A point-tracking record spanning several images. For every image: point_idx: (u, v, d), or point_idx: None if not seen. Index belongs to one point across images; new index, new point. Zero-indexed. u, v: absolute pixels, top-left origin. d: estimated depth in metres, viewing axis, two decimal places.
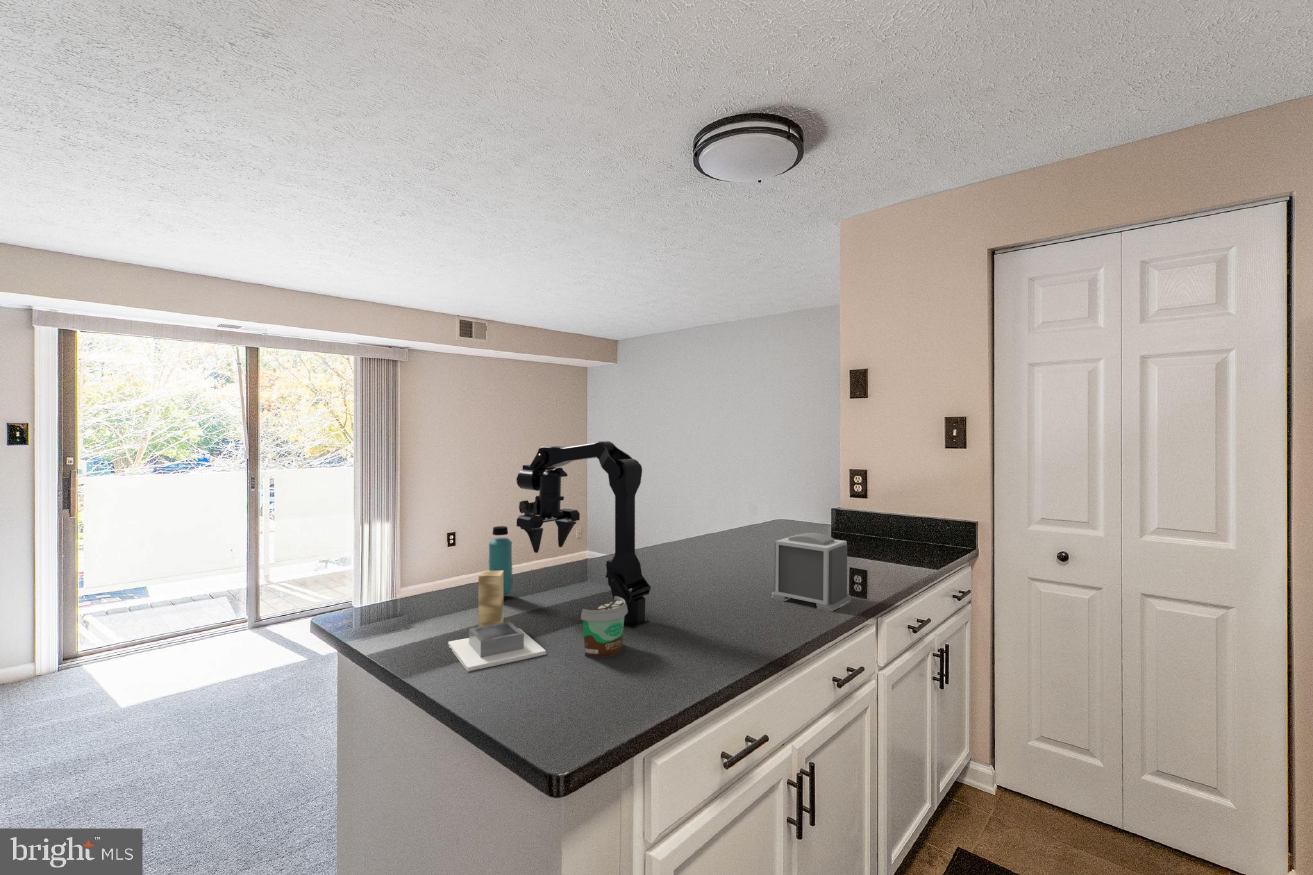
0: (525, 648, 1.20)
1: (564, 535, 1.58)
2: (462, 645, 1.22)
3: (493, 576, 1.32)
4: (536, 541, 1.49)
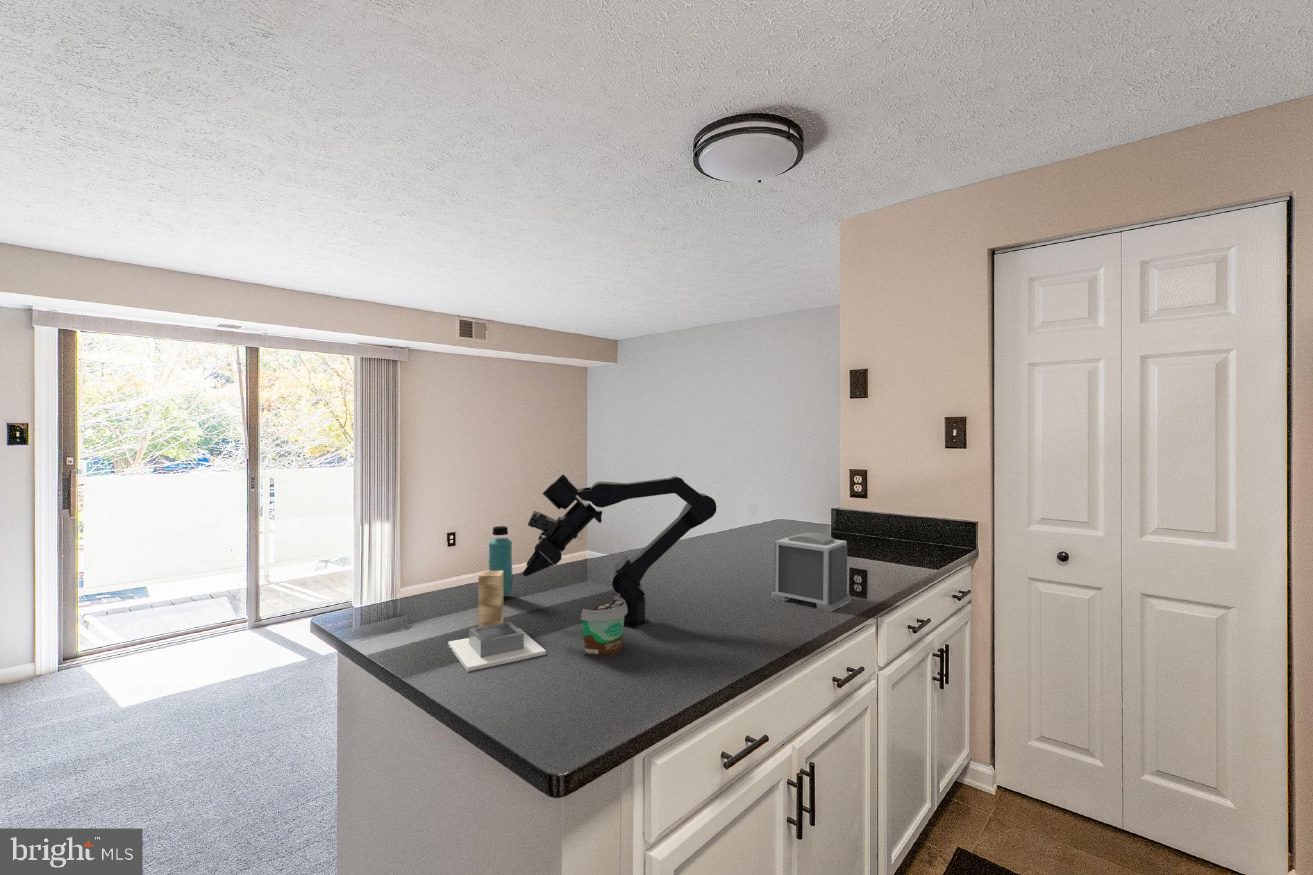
0: (525, 648, 1.20)
1: None
2: (462, 645, 1.22)
3: (493, 576, 1.32)
4: (537, 569, 1.31)
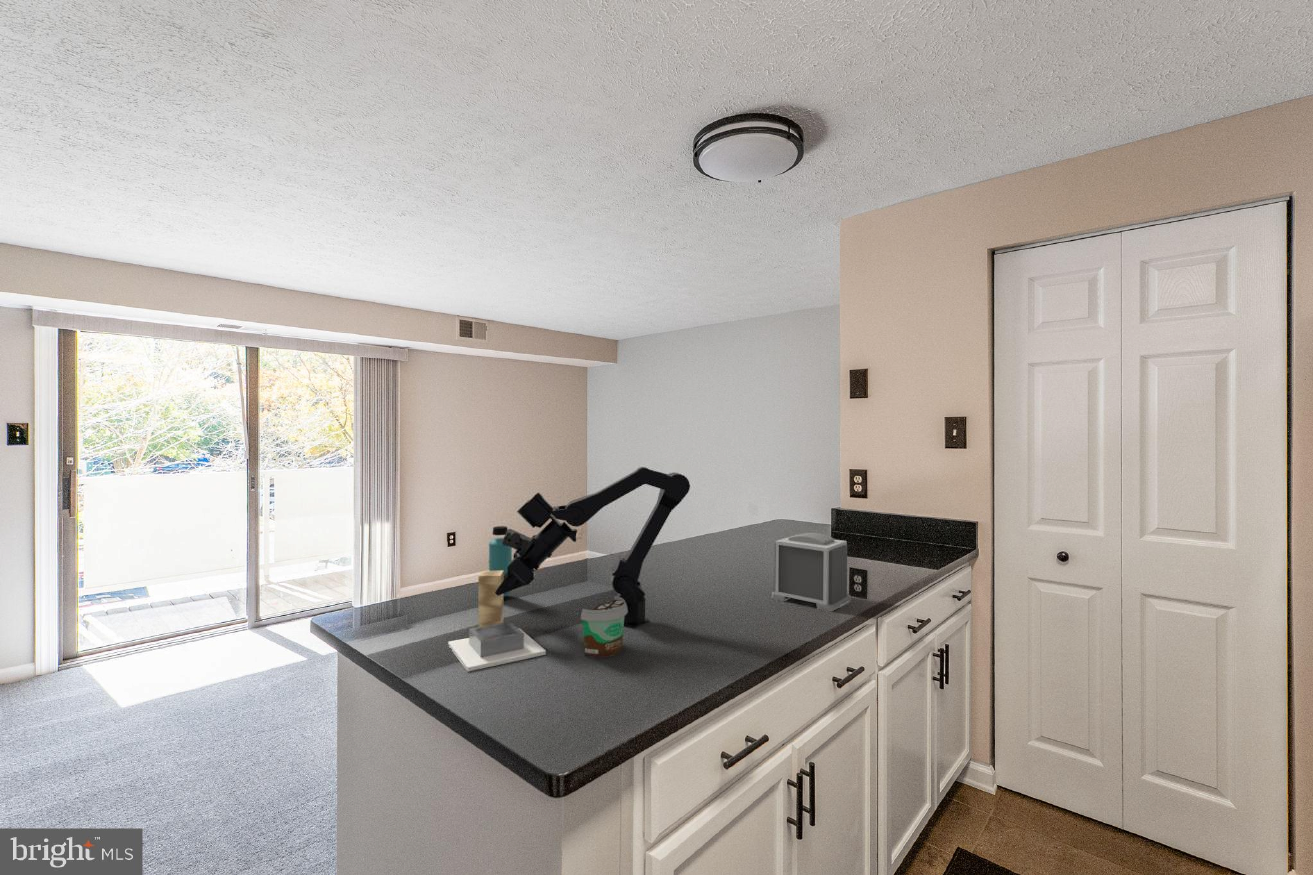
0: (525, 648, 1.20)
1: None
2: (462, 645, 1.22)
3: (493, 576, 1.32)
4: (510, 588, 1.30)
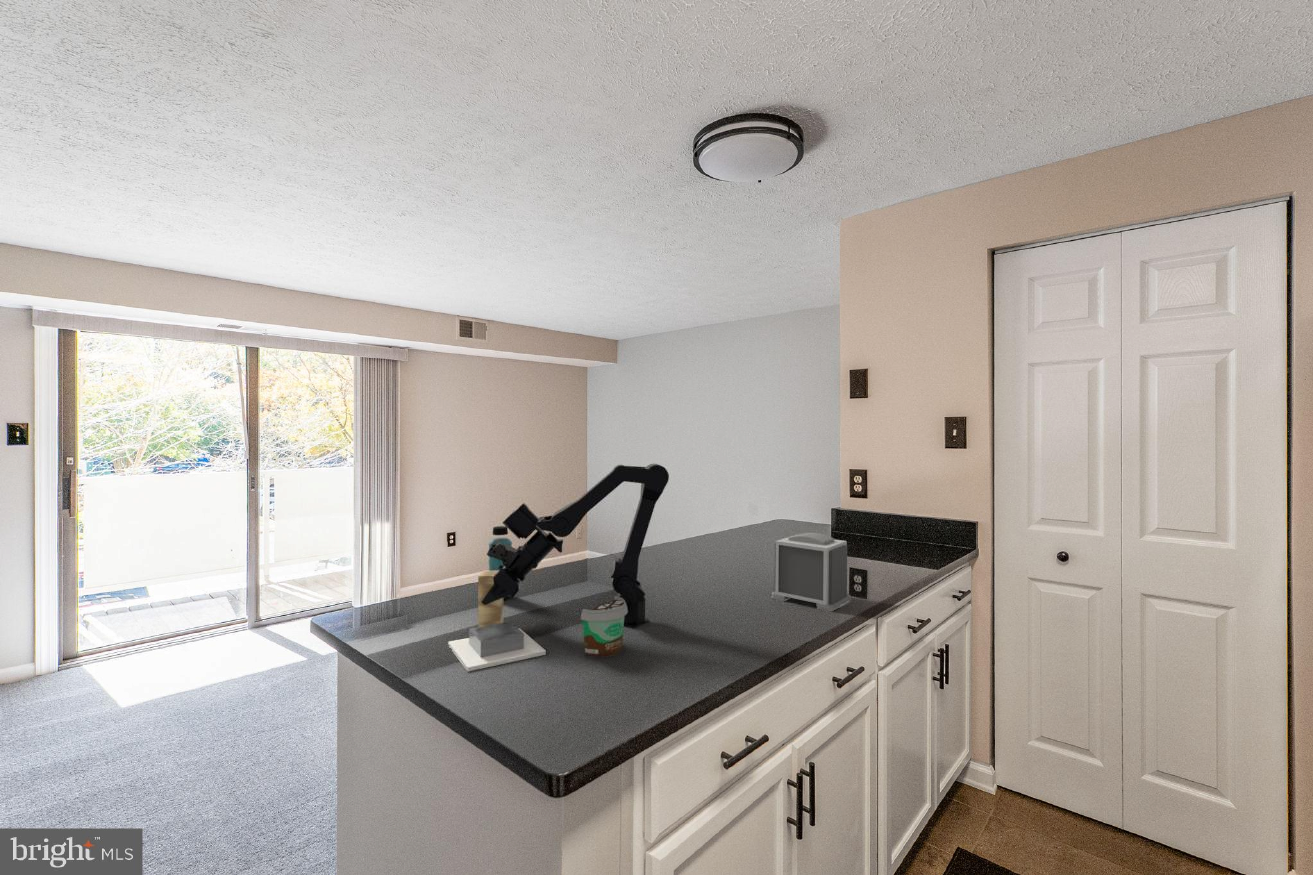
0: (525, 648, 1.20)
1: None
2: (462, 645, 1.22)
3: (493, 576, 1.32)
4: (496, 598, 1.31)
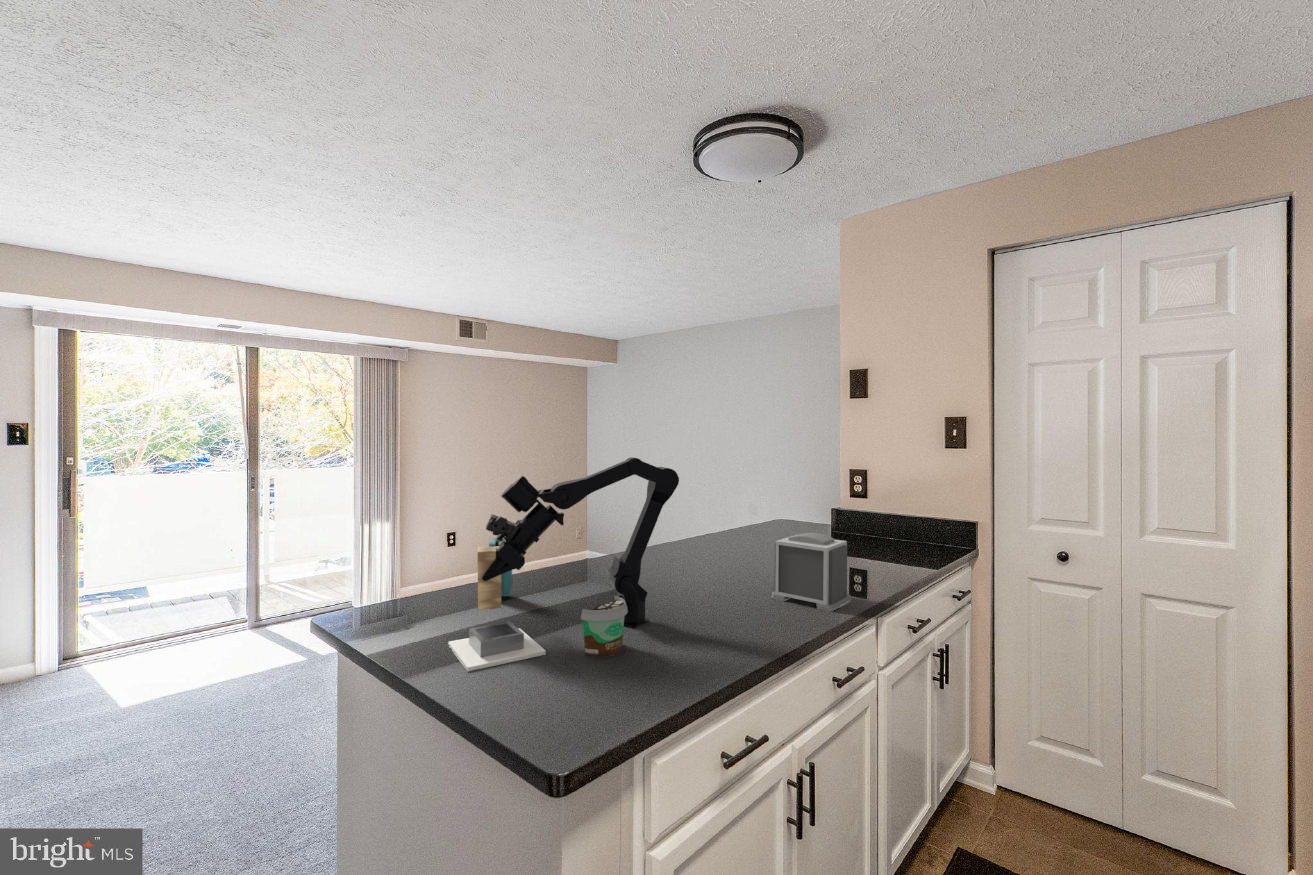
0: (525, 648, 1.20)
1: None
2: (462, 645, 1.22)
3: (493, 552, 1.28)
4: (498, 573, 1.27)
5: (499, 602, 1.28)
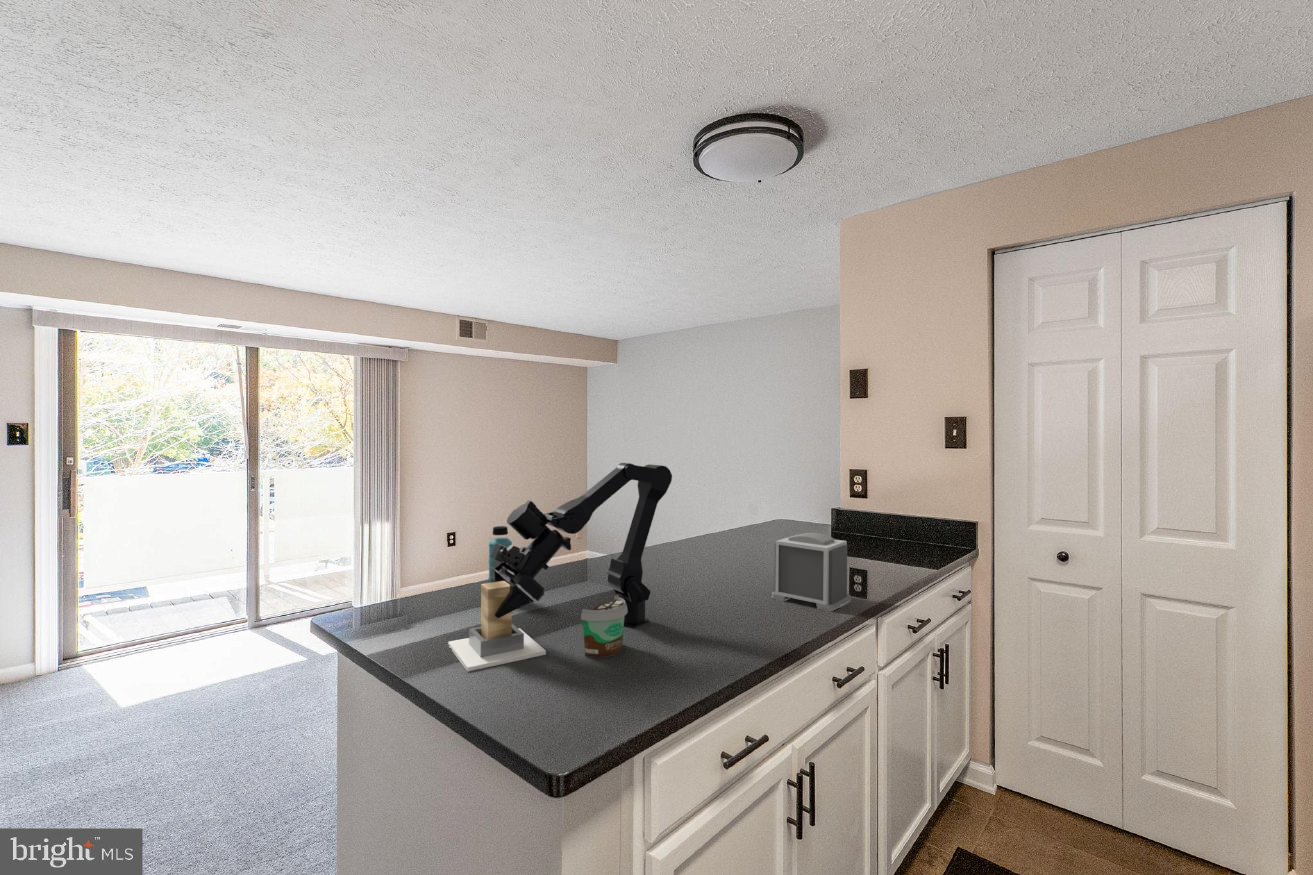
0: (525, 648, 1.20)
1: None
2: (462, 645, 1.22)
3: (503, 588, 1.20)
4: (513, 608, 1.17)
5: None
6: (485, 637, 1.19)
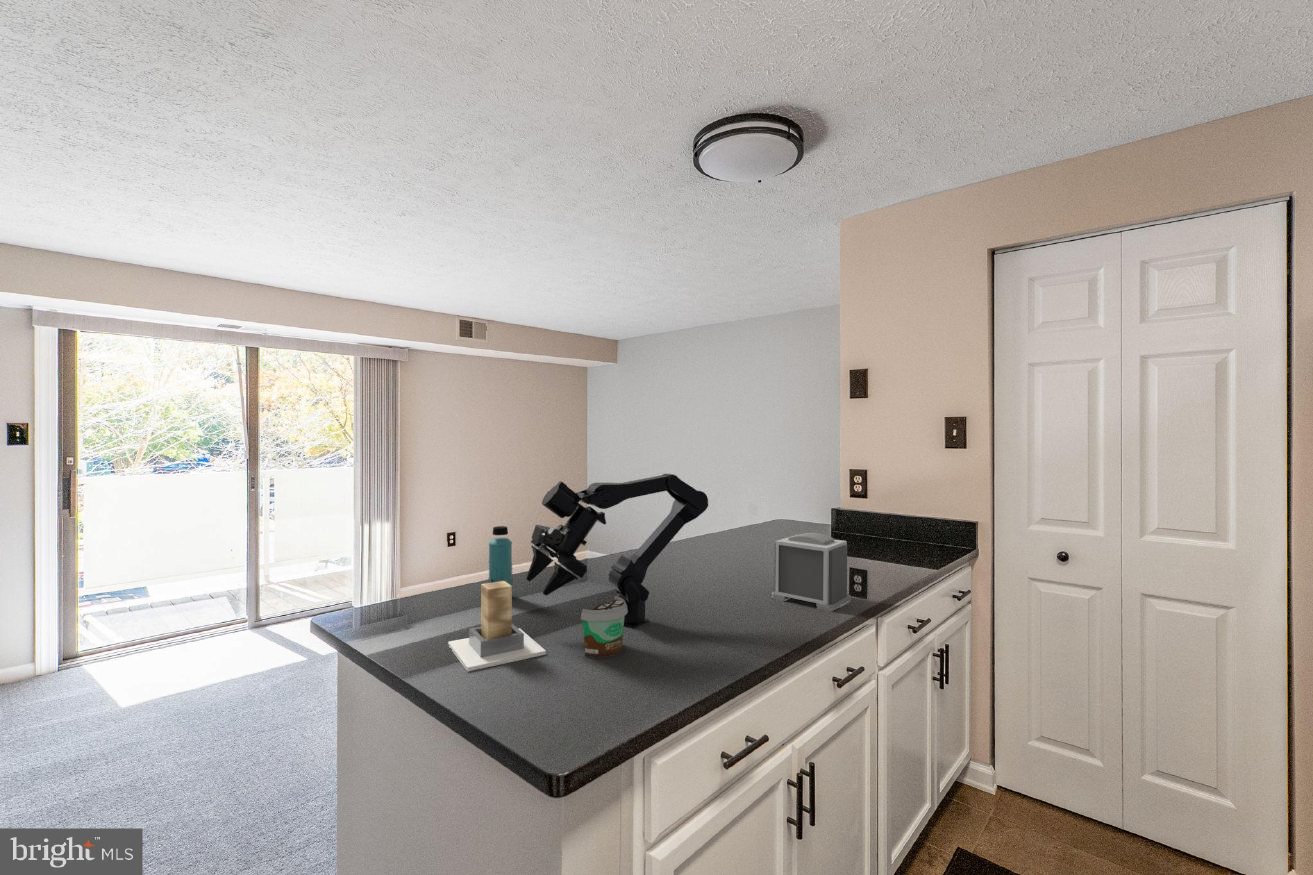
0: (525, 648, 1.20)
1: (540, 570, 1.34)
2: (462, 645, 1.22)
3: (503, 588, 1.20)
4: (559, 585, 1.26)
5: None
6: (485, 637, 1.19)
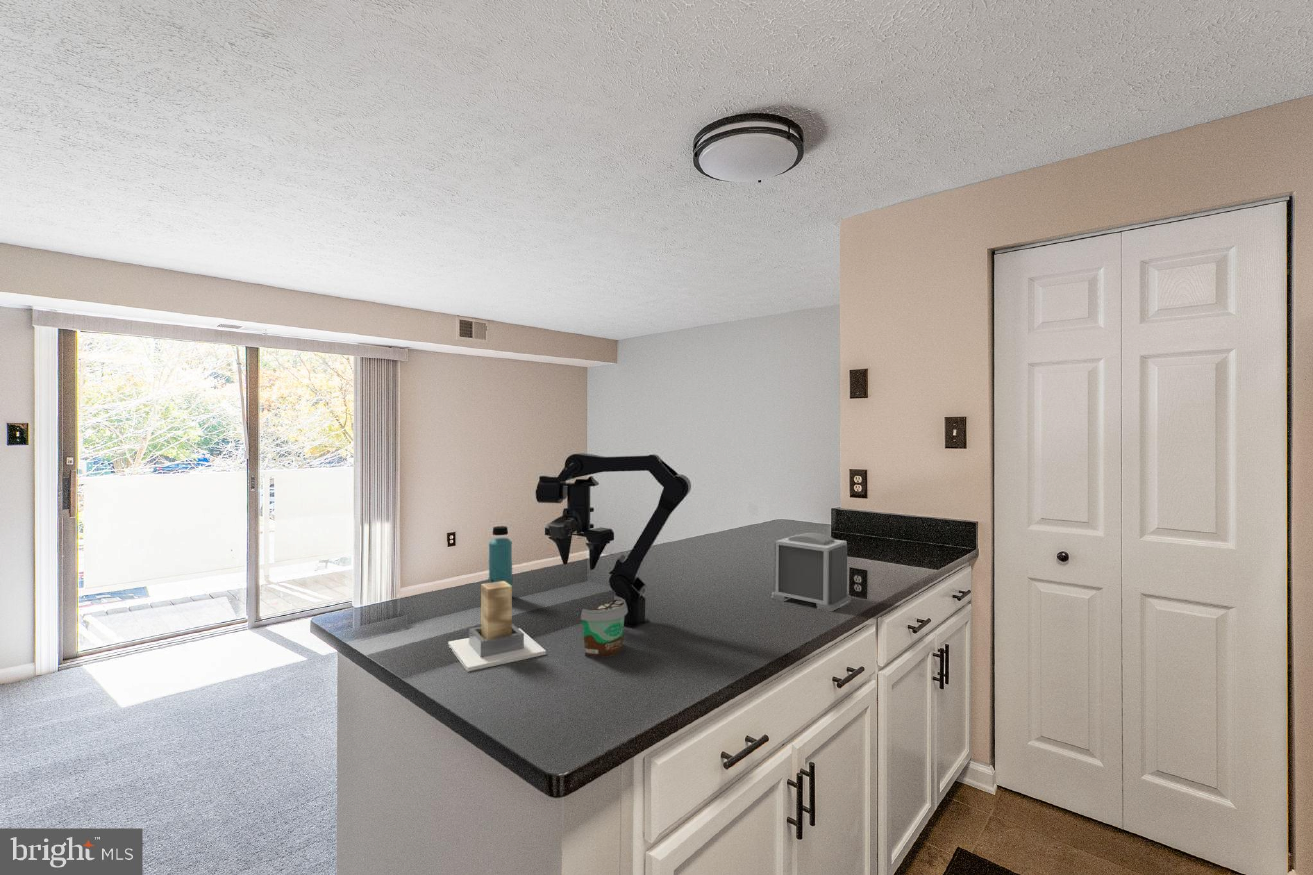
0: (525, 648, 1.20)
1: (569, 549, 1.45)
2: (462, 645, 1.22)
3: (503, 588, 1.20)
4: (599, 555, 1.39)
5: None
6: (485, 637, 1.19)
